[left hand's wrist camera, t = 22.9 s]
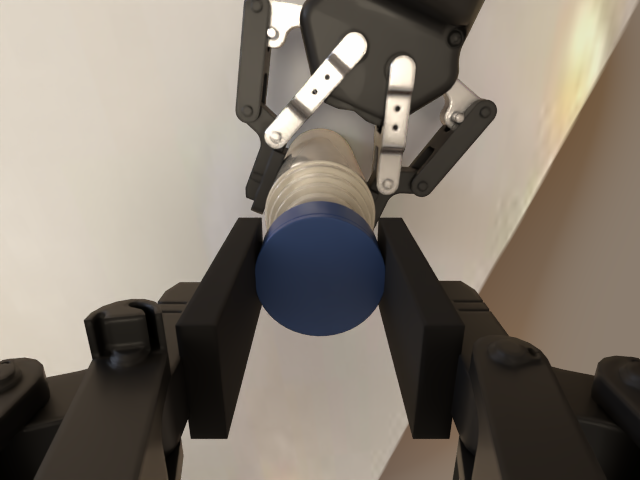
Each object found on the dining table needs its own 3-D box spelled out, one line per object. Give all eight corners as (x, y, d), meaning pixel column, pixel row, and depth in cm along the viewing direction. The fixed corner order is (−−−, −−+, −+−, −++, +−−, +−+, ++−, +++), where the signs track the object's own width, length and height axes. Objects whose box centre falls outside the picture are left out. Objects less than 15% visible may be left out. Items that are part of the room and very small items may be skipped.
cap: (260, 198, 14) (252, 215, 12) (383, 201, 14) (392, 218, 12) (262, 306, 15) (255, 334, 13) (374, 309, 15) (380, 338, 13)
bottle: (287, 125, 29) (243, 188, 12) (357, 130, 29) (406, 199, 13) (285, 194, 31) (243, 330, 14) (350, 198, 31) (387, 337, 14)
